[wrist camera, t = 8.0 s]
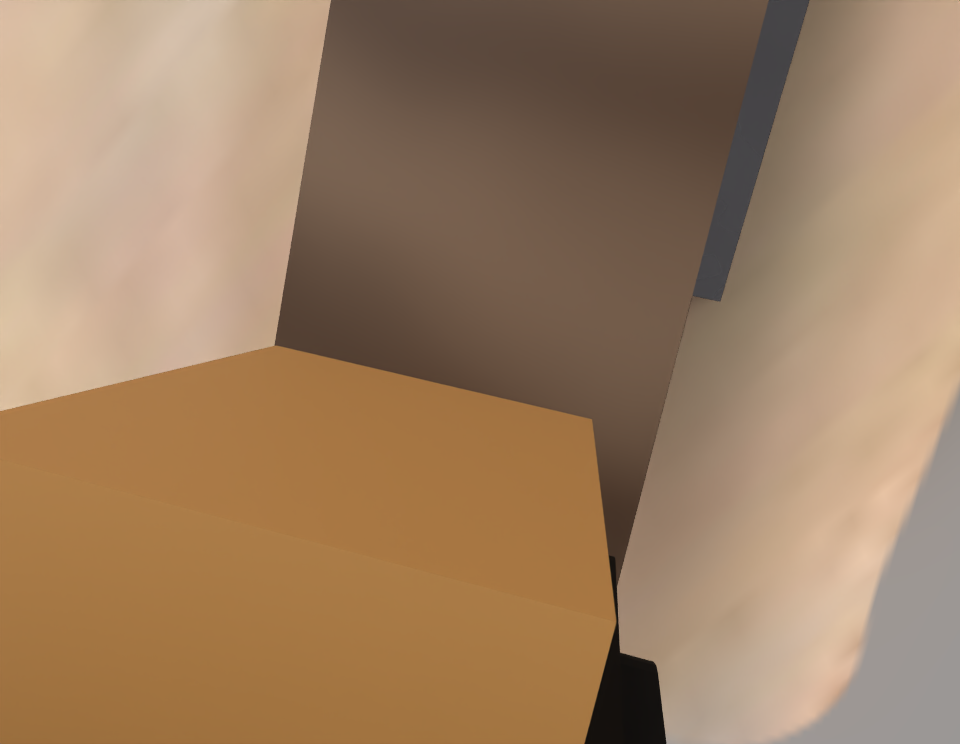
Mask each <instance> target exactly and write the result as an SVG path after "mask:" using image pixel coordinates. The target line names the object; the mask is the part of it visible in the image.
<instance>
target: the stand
mask: <svg viewBox="0 0 960 744" xmlns="http://www.w3.org/2000/svg"><path fill="white" fill-rule="evenodd" d="M808 3H809V0H769V1H768V5H767V9H766V13H765V16H764V20H763V24H762V28H761V32H760V36H759V40H758V44H757V47H756V51H755V55H754V59H753V63H752V67H751V71H750V74H749V78H748V82H747V86H746V90H745V94H744V98H743V101H742V105H741V109H740V113H739V117H738V121H737V125H736V129H735V132H734V136H733V140H732V144H731V148H730V152H729V156H728V159H727V163H726V167H725V171H724V175H723V179H722V183H721V186H720V190H719V194H718V198H717V202H716V206H715V210H714V214H713V217H712V221H711V225H710V229H709V233H708V237H707V241H706V244H705V248H704V252H703V256H702V260H701V264H700V268H699V272H698V275H697V279H696V283H695V287H694V291H693V295H692V296H696V297H701V298H706V299H710V300H715V301H720V300H721V297H722V294H723V290H724V287H725V283H726V280H727V277H728V273H729V270H730V267H731V263H732V260H733V256H734V253H735V250H736V246H737V243H738V240H739V236H740V233H741V229H742V226H743V223H744V219H745V216H746V213H747V209H748V206H749V202H750V199H751V196H752V192H753V189H754V186H755V182H756V179H757V175H758V172H759V169H760V165H761V162H762V159H763V155H764V152H765V148H766V145H767V142H768V138H769V135H770V132H771V128H772V125H773V121H774V118H775V115H776V111H777V108H778V105H779V101H780V98H781V94H782V91H783V88H784V84H785V81H786V78H787V74H788V71H789V67H790V64H791V61H792V57H793V54H794V50H795V47H796V44H797V40H798V37H799V34H800V30H801V27H802V23H803V20H804V17H805V13H806V10H807V7H808Z"/></svg>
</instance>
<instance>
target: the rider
mask: <svg viewBox="0 0 960 744" xmlns="http://www.w3.org/2000/svg"><path fill="white" fill-rule="evenodd" d="M615 626H616V614H615V606H614V597H613V589H612V581H611V572H610V564H609V556H608V547H607V539H606V531H605V523H604V514H603V506H602V498H601V489H600V481H599V473H598V464H597V456H596V448H595V439H594V431H593V423H592V419H589V418H584V417H580V416H576V415H572V414H567V413H563V412H559V411H554V410H550V409H546V408H542V407H537V406H533V405H529V404H525V403H520V402H516V401H512V400H507V399H503V398H499V397H495V396H490V395H486V394H482V393H478V392H473V391H469V390H465V389H460V388H456V387H452V386H448V385H443V384H439V383H435V382H430V381H426V380H422V379H418V378H413V377H409V376H405V375H401V374H396V373H392V372H388V371H383V370H379V369H375V368H371V367H366V366H362V365H358V364H354V363H349V362H345V361H341V360H336V359H332V358H328V357H324V356H319V355H315V354H311V353H307V352H302V351H298V350H294V349H289V348H285V347H281V346H277V345H276V346H272V347H268V348H264V349H260V350H255V351H251V352H247V353H243V354H239V355H234V356H230V357H226V358H222V359H218V360H213V361H209V362H205V363H201V364H197V365H192V366H188V367H184V368H180V369H176V370H171V371H167V372H163V373H159V374H155V375H150V376H146V377H142V378H138V379H134V380H130V381H125V382H121V383H117V384H113V385H109V386H104V387H100V388H96V389H92V390H88V391H83V392H79V393H75V394H71V395H67V396H62V397H58V398H54V399H50V400H46V401H41V402H37V403H33V404H29V405H25V406H20V407H16V408H12V409H8V410H4V411H0V744H584V743H585V739H586V735H587V732H588V728H589V724H590V720H591V716H592V713H593V709H594V705H595V701H596V698H597V694H598V690H599V686H600V682H601V679H602V675H603V671H604V667H605V663H606V660H607V656H608V652H609V648H610V645H611V641H612V637H613V633H614V629H615Z"/></svg>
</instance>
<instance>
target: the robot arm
mask: <svg viewBox="0 0 960 744" xmlns="http://www.w3.org/2000/svg"><path fill="white" fill-rule="evenodd" d="M608 556H609V564H610V572H611V581H612V589H613V597H614V606H615V614H616V626H615V629H614V633H613V637H612V641H611V645H610V648H609V652H608V656H607V660H606V663H605V667H604V671H603V675H602V679H601V682H600V686H599V690H598V694H597V698H596V701H595V705H594V709H593V713H592V716H591V720H590V724H589V728H588V732H587V735H586V739H585V743H584V744H666V737H665V728H664V720H663V712H662V704H661V695H660V687H659V679H658V672H657V667H656V665H655V663H654V662H652V661H649V660H645V659H641V658H637V657H634V656H630V655H626V654H623V653H620V646H619V624H618V603H617V582H616V561H615V557H614V556H610V555H608Z"/></svg>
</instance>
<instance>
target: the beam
mask: <svg viewBox="0 0 960 744" xmlns="http://www.w3.org/2000/svg"><path fill="white" fill-rule="evenodd" d="M768 1H769V0H331V4H330V10H329V16H328V22H327V29H326V35H325V41H324V47H323V53H322V59H321V65H320V71H319V77H318V84H317V90H316V96H315V102H314V108H313V114H312V120H311V126H310V132H309V139H308V145H307V151H306V157H305V163H304V169H303V175H302V181H301V187H300V194H299V200H298V206H297V212H296V218H295V224H294V230H293V236H292V242H291V249H290V255H289V261H288V267H287V273H286V279H285V285H284V291H283V297H282V304H281V310H280V316H279V322H278V328H277V334H276V340H275V346H276V345H277V346H281V347H285V348H289V349H294V350H298V351H302V352H307V353H311V354H315V355H319V356H324V357H328V358H332V359H336V360H341V361H345V362H349V363H354V364H358V365H362V366H366V367H371V368H375V369H379V370H383V371H388V372H392V373H396V374H401V375H405V376H409V377H413V378H418V379H422V380H426V381H430V382H435V383H439V384H443V385H448V386H452V387H456V388H460V389H465V390H469V391H473V392H478V393H482V394H486V395H490V396H495V397H499V398H503V399H507V400H512V401H516V402H520V403H525V404H529V405H533V406H537V407H542V408H546V409H550V410H554V411H559V412H563V413H567V414H572V415H576V416H580V417H584V418H589V419H592V423H593V431H594V439H595V448H596V456H597V464H598V473H599V481H600V489H601V498H602V506H603V514H604V523H605V531H606V539H607V547H608V555H610V556H614V557H615V561H616V582H617V584H618V581H619V577H620V573H621V569H622V565H623V561H624V557H625V554H626V550H627V546H628V542H629V538H630V534H631V530H632V527H633V523H634V519H635V515H636V511H637V507H638V503H639V499H640V496H641V492H642V488H643V484H644V480H645V476H646V472H647V469H648V465H649V461H650V457H651V453H652V449H653V445H654V442H655V438H656V434H657V430H658V426H659V422H660V418H661V414H662V411H663V407H664V403H665V399H666V395H667V391H668V387H669V384H670V380H671V376H672V372H673V368H674V364H675V360H676V357H677V353H678V349H679V345H680V341H681V337H682V333H683V329H684V326H685V322H686V318H687V314H688V310H689V306H690V302H691V299H692V295H693V291H694V287H695V283H696V279H697V275H698V272H699V268H700V264H701V260H702V256H703V252H704V248H705V244H706V241H707V237H708V233H709V229H710V225H711V221H712V217H713V214H714V210H715V206H716V202H717V198H718V194H719V190H720V186H721V183H722V179H723V175H724V171H725V167H726V163H727V159H728V156H729V152H730V148H731V144H732V140H733V136H734V132H735V129H736V125H737V121H738V117H739V113H740V109H741V105H742V101H743V98H744V94H745V90H746V86H747V82H748V78H749V74H750V71H751V67H752V63H753V59H754V55H755V51H756V47H757V44H758V40H759V36H760V32H761V28H762V24H763V20H764V16H765V13H766V9H767V5H768Z"/></svg>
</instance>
